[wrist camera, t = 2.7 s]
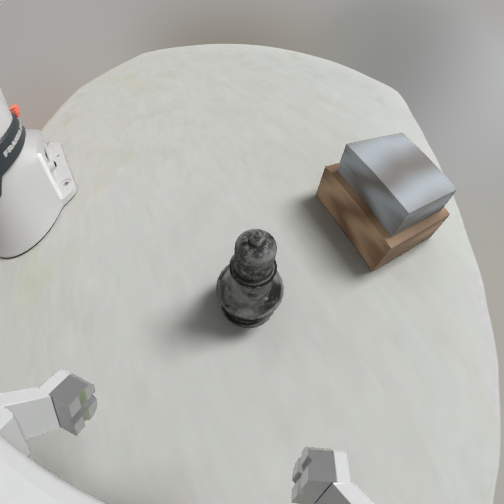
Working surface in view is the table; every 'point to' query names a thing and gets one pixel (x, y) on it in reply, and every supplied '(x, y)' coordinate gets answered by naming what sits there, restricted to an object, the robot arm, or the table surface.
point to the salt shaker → (251, 280)
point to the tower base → (368, 223)
